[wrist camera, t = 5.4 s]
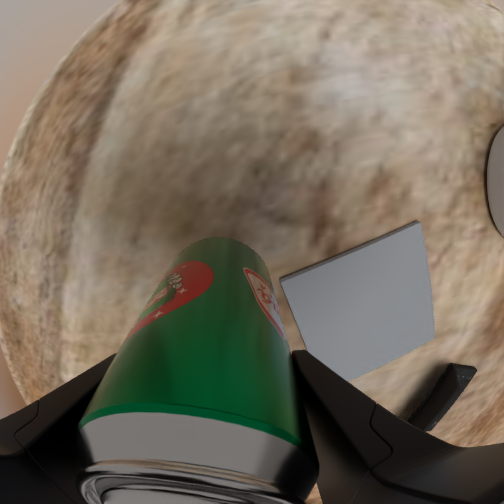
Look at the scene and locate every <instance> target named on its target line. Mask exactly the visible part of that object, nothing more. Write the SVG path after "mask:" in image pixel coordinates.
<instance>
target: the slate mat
mask: <svg viewBox="0 0 504 504" xmlns="http://www.w3.org/2000/svg"><path fill="white" fill-rule="evenodd" d="M279 280H280V282H281V285H282V287H283V290H284V292H285V295H286V297H287V300H288V302H289V305H290V307H291V310H292V312H293V315H294V317H295V320H296V322H297V325H298V327H299V330H300V332H301V335H302V337H303V340H304V342H305V345H306V348H307V350H308V352H309V353H310V354H312V355H313V356H314V357H316V358H317V359H318V360H320V361H321V362H322V363H324V364H325V365H326V366H327V367H329V368H330V369H331V370H333V371H334V372H335V373H337V374H338V375H339V376H341V377H342V378H344V379H345V380H346V381H350V380H352V379H355V378H357V377H359V376H361V375H364V374H366V373H368V372H370V371H372V370H375V369H377V368H379V367H381V366H383V365H385V364H387V363H389V362H391V361H393V360H395V359H397V358H399V357H401V356H403V355H405V354H407V353H409V352H410V351H412V350H414V349H416V348H418V347H420V346H421V345H423V344H425V343H427V342H428V341H430V340H432V339H434V338H435V330H434V314H433V302H432V291H431V283H430V274H429V267H428V260H427V254H426V248H425V242H424V236H423V231H422V226H421V222H419V221H415V222H413V223H411V224H408V225H406V226H404V227H402V228H400V229H397V230H395V231H393V232H391V233H388V234H386V235H384V236H382V237H379V238H377V239H375V240H372V241H370V242H368V243H366V244H363V245H361V246H359V247H356V248H354V249H352V250H349V251H347V252H345V253H342V254H340V255H337V256H335V257H333V258H330V259H328V260H326V261H323V262H321V263H318V264H316V265H314V266H311V267H309V268H306V269H304V270H301V271H299V272H296V273H294V274H291V275H289V276H286V277H284V278H281V279H279Z"/></svg>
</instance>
